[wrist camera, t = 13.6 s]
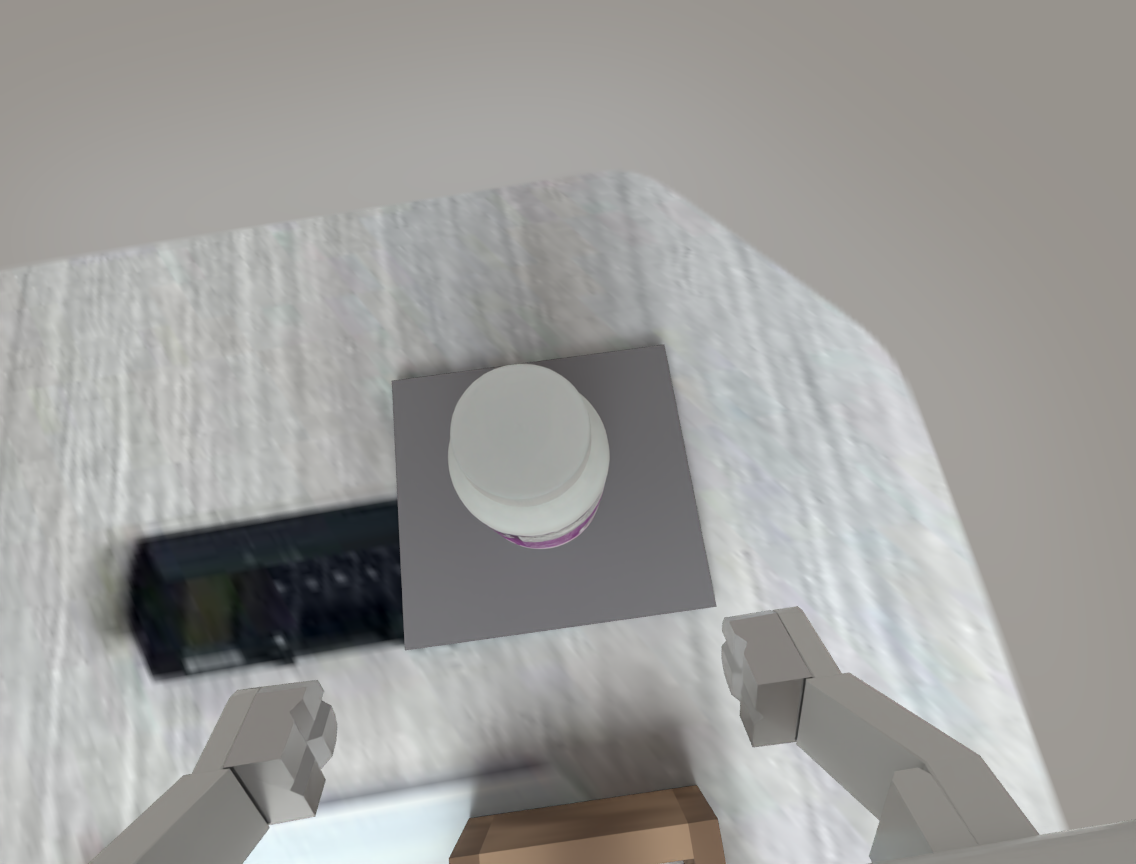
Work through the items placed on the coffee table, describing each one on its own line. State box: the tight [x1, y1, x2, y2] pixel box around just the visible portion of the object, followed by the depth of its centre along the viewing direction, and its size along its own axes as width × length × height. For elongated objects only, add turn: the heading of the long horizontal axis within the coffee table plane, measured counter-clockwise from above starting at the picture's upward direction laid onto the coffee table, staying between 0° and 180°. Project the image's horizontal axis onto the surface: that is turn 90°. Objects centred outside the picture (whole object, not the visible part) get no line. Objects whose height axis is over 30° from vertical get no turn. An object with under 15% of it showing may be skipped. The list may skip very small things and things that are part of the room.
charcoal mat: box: [392, 345, 716, 650], centre depth 25 cm, size 13×12×1 cm
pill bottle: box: [448, 364, 610, 549], centre depth 20 cm, size 5×5×10 cm
